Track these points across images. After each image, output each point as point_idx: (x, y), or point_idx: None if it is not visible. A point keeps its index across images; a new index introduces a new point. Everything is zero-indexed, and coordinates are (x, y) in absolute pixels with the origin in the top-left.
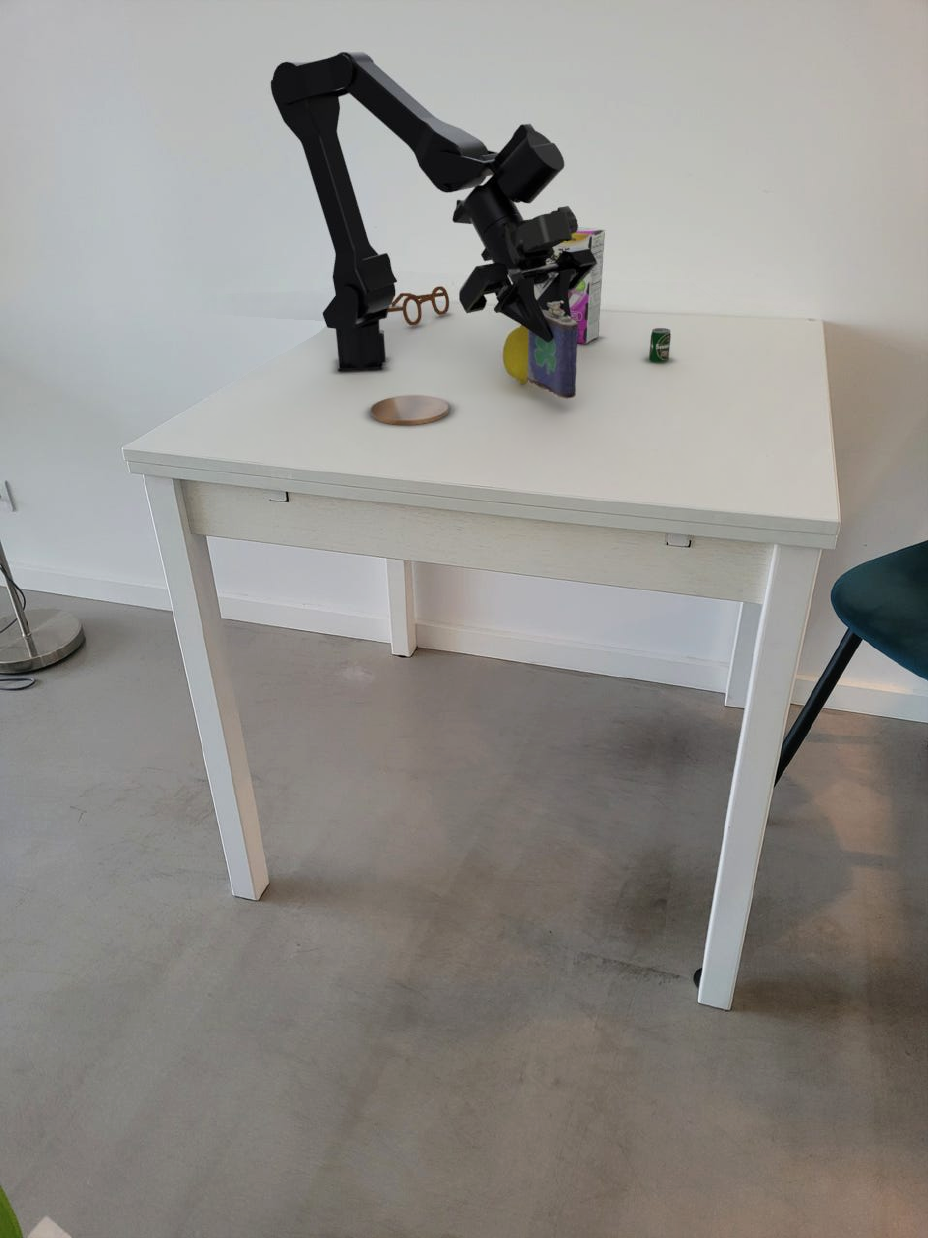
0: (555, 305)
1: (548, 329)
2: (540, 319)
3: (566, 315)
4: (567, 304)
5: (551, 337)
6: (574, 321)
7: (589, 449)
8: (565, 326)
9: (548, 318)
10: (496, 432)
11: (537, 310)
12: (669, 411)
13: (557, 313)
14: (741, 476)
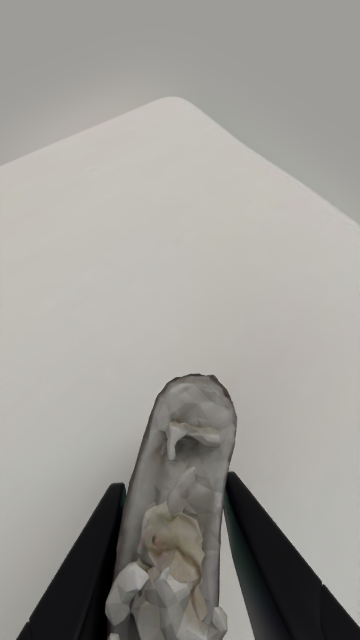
0: (184, 578)
1: (243, 494)
2: (289, 541)
3: (174, 457)
4: (39, 630)
5: (231, 472)
6: (178, 390)
7: (246, 287)
8: (226, 391)
9: (217, 564)
10: (341, 433)
11: (312, 602)
12: (32, 327)
13: (193, 519)
14: (159, 157)
